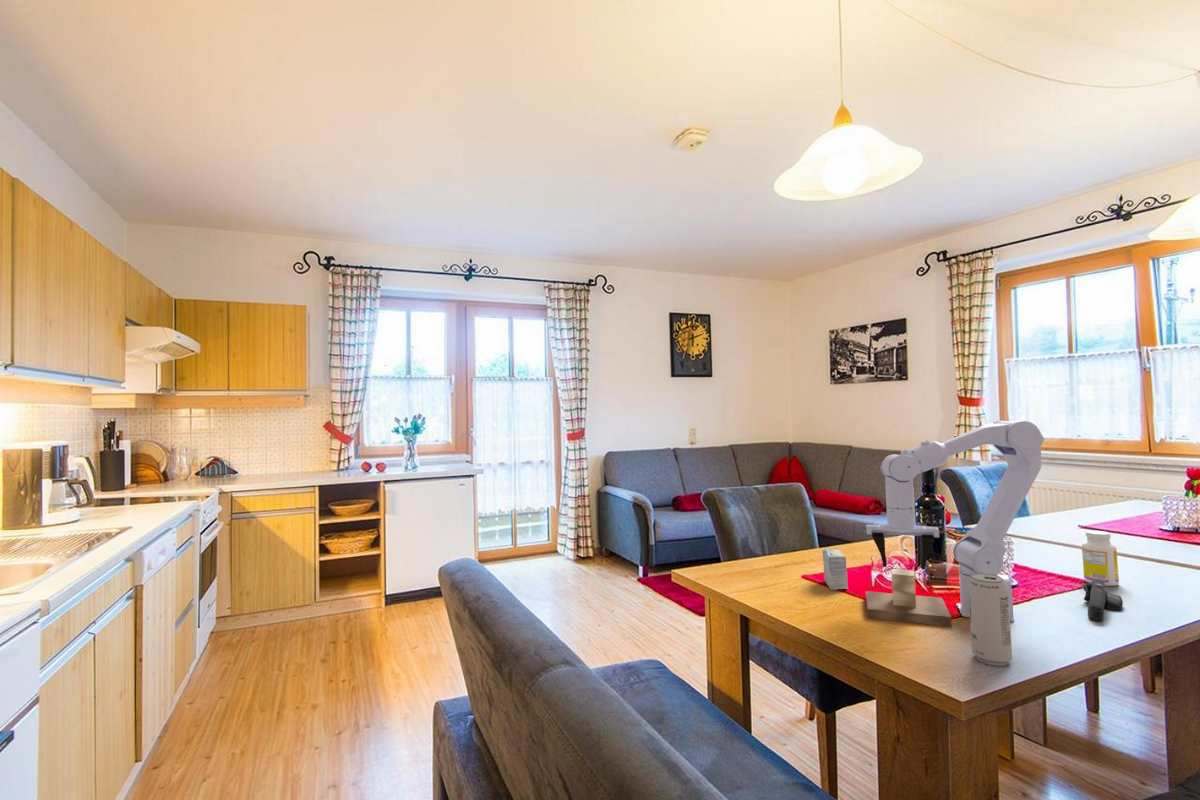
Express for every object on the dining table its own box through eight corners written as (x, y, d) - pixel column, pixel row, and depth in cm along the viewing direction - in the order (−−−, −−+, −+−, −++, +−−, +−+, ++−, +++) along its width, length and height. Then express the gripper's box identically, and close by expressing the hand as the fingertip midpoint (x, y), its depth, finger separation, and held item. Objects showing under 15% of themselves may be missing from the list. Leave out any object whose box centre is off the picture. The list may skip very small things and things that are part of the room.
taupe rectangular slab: (942, 606, 130) (941, 597, 130) (951, 626, 118) (951, 617, 118) (866, 599, 136) (865, 591, 136) (868, 618, 124) (867, 609, 124)
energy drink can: (975, 650, 106) (971, 570, 107) (1014, 658, 102) (1009, 576, 102) (969, 661, 102) (964, 578, 102) (1009, 670, 98) (1004, 584, 98)
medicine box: (848, 590, 143) (846, 556, 144) (829, 590, 144) (828, 556, 144) (841, 581, 151) (839, 549, 151) (823, 581, 152) (822, 549, 152)
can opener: (1084, 598, 132) (1082, 574, 132) (1124, 605, 127) (1123, 580, 127) (1073, 619, 120) (1071, 593, 120) (1117, 627, 115) (1115, 600, 115)
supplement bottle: (1105, 579, 145) (1101, 529, 145) (1126, 586, 138) (1123, 534, 138) (1077, 579, 145) (1074, 529, 146) (1097, 587, 139) (1094, 535, 139)
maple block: (915, 601, 128) (914, 570, 128) (916, 607, 124) (914, 575, 124) (893, 598, 130) (892, 568, 130) (893, 604, 126) (891, 573, 126)
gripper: (934, 505, 128) (937, 564, 128) (864, 503, 134) (867, 560, 134) (939, 510, 122) (942, 573, 121) (865, 508, 128) (868, 568, 127)
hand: (903, 567), depth 127 cm, fingers open, 7 cm apart
